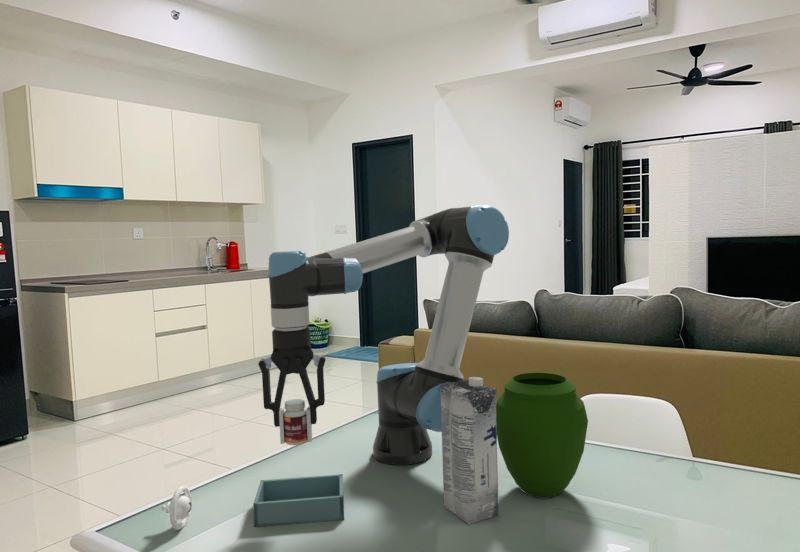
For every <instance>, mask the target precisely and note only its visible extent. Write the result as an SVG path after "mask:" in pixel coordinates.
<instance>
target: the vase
mask: <svg viewBox="0 0 800 552" xmlns="http://www.w3.org/2000/svg"><path fill="white" fill-rule="evenodd" d="M503 385H504V386H503V387H504V391H503V393H502V394H501V395H500V396H499V397H498V399H496V425H497V445H498V448H499V450H500V454H501V456H502V457H503V461H504V464H505V467H506V469H507V470H508V472H509V474H510V476H511V477H512V479H513V480H514V483H515V484H516V485H517V486H518V487H519V489H521V491H523V493H525V494H527V495H529V496H531V497H534V498H539V497H541V498H540V499H544V498H545V499H548V498H547V497H549V498H552V497H553V496H554V497H557V496H559V495H560V494H561V493H563V492H564V490H566V488H567V487H568V486H569V485H570V483H571V481H572V479H573V478H574V477H575V475H576V473H577V471H578V468H579V465H580V462H581V459H582V457H583V454H584V451H585V444H586V438H587V431H588V430H587V429H588V425H589V419H588V415H587V411H586V405H585V403H584V400H582V399H581V397H580V396H579V395H578V394H577V393H576V390H577V386H576V385H575V384H574V383H573V382H572V381H569V380H568V379H567V378H566V377H565V376H562V375H561V374H560V375H559V374H556V373H549V372H547V373H546V372H527V373H520V374H517V375H515V376H513V377H512V378H511V379H509V380H507V382H505V383H504V384H503ZM554 497H553V498H554Z"/></svg>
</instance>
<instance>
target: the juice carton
mask: <svg viewBox="0 0 800 552" xmlns="http://www.w3.org/2000/svg"><path fill="white" fill-rule="evenodd" d="M440 394H441V424H442V432H441V452H442V479H443V484H442V485H443V499H444V500H443V501H444V506H445V508H446V509H447V510H448V511H450V512H452V513H453V514H454V515H456V516H457V517H459V518H460V519H461V520H462V521H463V522H464V523H466V524H468V525H470V524H475V523H477V522H482V521H484V520H487V519H491V518H494V517H497V516H498V514H499V472H498V438H497V425H496V404H497V394H498V393H497V388H496V387H494V386H489V385H484V378H483V377H478V376H469V377H468V379H466V380H463V381H458V382H453V383H448V384H442V385H440Z"/></svg>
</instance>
